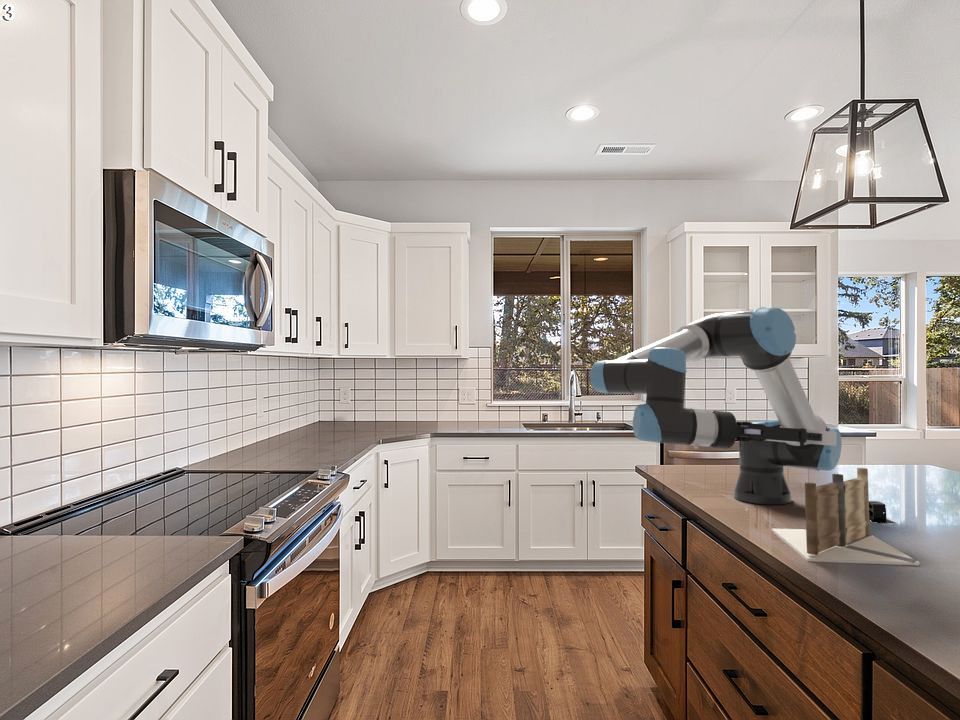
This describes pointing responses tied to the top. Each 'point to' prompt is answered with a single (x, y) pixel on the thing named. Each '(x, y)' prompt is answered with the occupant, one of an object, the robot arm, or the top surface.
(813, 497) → the panel
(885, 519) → the black blocky piece
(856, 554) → the card
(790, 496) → the robot arm
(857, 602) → the top surface
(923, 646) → the top surface
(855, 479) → the fixed fence section
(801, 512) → the top surface
